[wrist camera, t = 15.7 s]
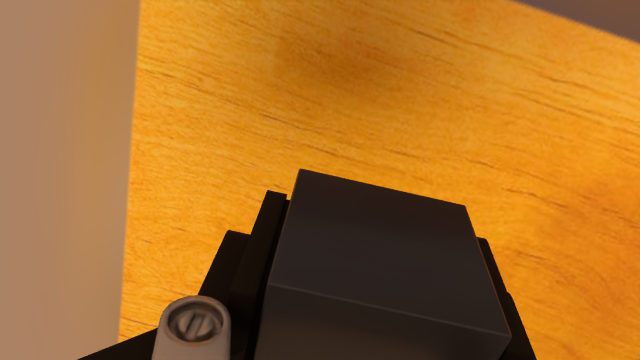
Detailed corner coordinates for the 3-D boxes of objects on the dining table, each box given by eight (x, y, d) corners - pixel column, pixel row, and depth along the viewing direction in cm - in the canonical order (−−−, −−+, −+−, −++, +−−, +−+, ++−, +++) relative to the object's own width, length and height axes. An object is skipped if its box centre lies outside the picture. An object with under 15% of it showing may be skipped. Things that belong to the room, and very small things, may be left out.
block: (299, 167, 12) (266, 283, 8) (466, 204, 12) (514, 337, 8) (273, 292, 14) (237, 432, 10) (414, 323, 14) (432, 473, 10)
